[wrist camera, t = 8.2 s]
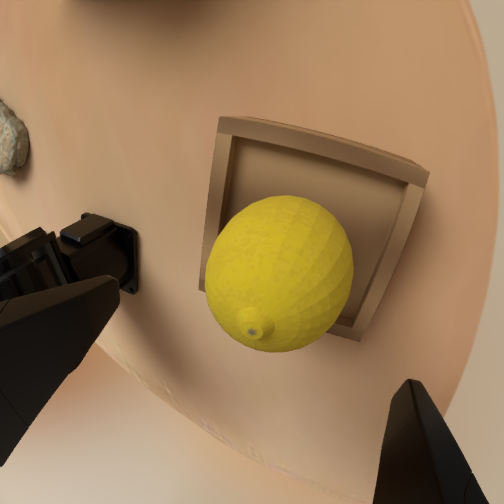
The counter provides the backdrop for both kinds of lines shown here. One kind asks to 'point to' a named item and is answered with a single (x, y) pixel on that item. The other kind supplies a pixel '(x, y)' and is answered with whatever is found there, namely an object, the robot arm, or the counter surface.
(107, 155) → the counter surface
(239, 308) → the lemon
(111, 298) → the robot arm
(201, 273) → the walnut dish block
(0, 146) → the long grey stone
